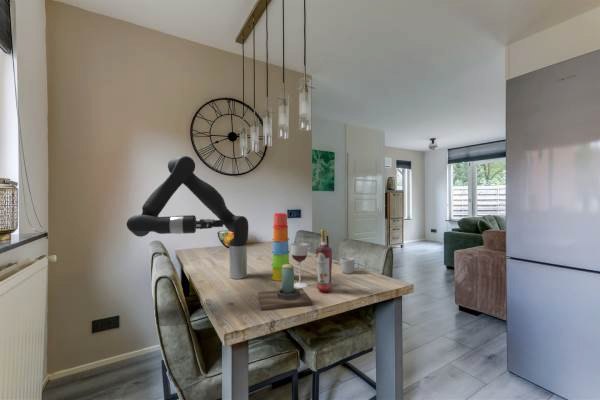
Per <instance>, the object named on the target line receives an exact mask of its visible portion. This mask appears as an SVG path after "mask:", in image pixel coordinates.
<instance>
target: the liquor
mask: <svg viewBox="0 0 600 400" xmlns="http://www.w3.org/2000/svg"><path fill="white" fill-rule="evenodd" d="M320 234H321V238H320V239H321V240H320V246H318V247H317V248H316V249H315V255H316V257H315V258H316V269H317V271H316V273H317V288H316V289H317V290H318V291H319V292H321V293H323V294H324V293H329V292H330V291H332V289H333V287H332V268H333V267H332V265H333V249H332V248H331V247H330V246H328V240H327V239H328V238H327V236H328V235H327V234H328V230H327V228H325V229H324V228H321V229H320Z"/></svg>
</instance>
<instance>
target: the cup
mask: <svg viewBox="0 0 600 400" xmlns="http://www.w3.org/2000/svg"><path fill="white" fill-rule="evenodd" d="M339 261H340V269H341V273H343V274H346V275H347V274H348V275H350V274H352V273H354V271H358V270H359V268H360V264H359V262H358V261H355V258H354V257H348V256H342V257H340V258H339ZM355 264H356V267H355Z"/></svg>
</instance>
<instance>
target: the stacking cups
mask: <svg viewBox="0 0 600 400" xmlns="http://www.w3.org/2000/svg"><path fill="white" fill-rule="evenodd" d="M272 228H273V237H272V241H273V244H272V246H273V247H272V248H273V249H272V250H273V251H271V253H272V263H271V266H272V276H271V278H270V279H271V280H272V281H277V282H282V265H284V264H291V263H290V250H289V240H290V238H289V235H288V234H289V232H288V231H289V230H288V229H289V225H288V214H287V213H286V212H278V213H277V212H276V213H274V215H273V226H272Z"/></svg>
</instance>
